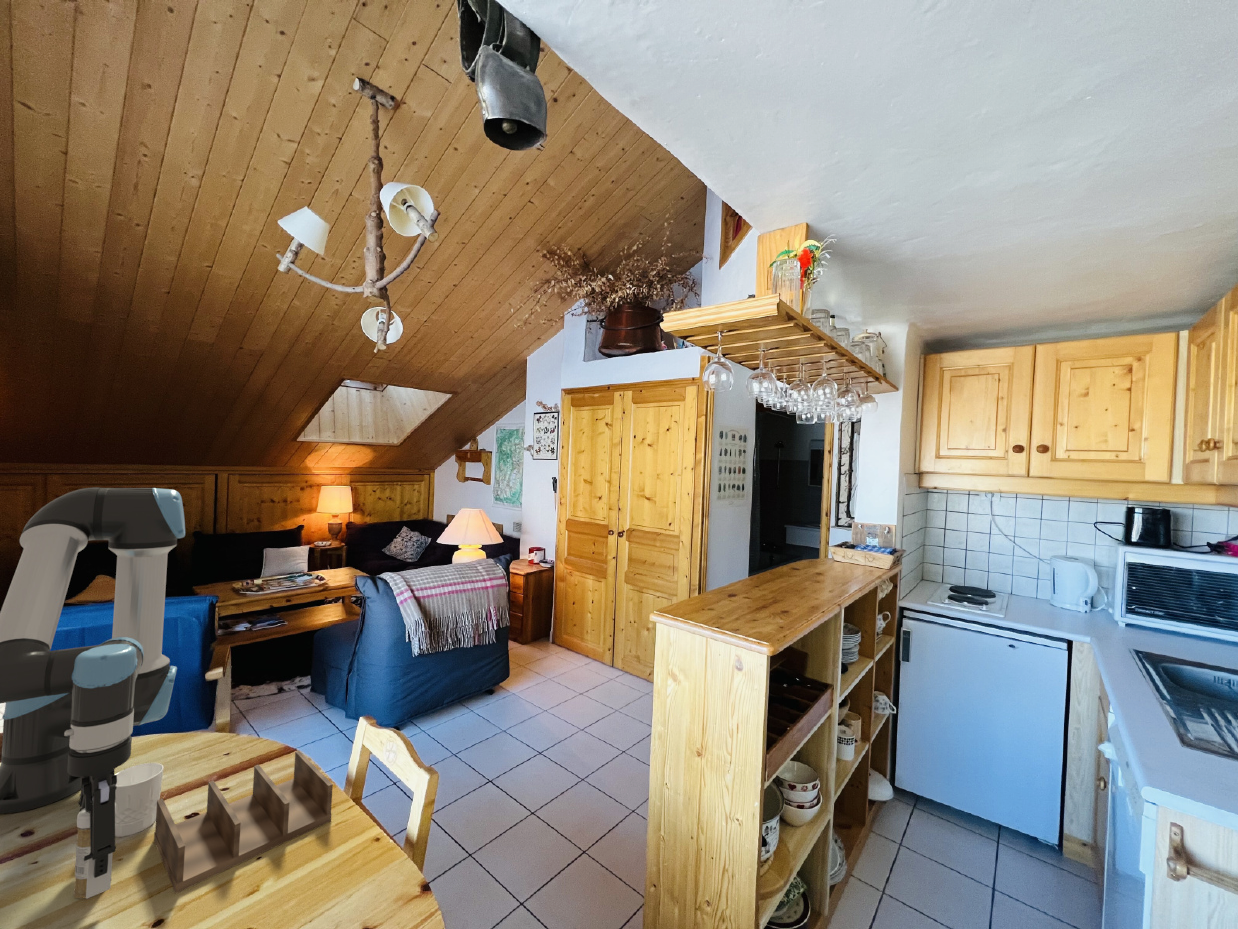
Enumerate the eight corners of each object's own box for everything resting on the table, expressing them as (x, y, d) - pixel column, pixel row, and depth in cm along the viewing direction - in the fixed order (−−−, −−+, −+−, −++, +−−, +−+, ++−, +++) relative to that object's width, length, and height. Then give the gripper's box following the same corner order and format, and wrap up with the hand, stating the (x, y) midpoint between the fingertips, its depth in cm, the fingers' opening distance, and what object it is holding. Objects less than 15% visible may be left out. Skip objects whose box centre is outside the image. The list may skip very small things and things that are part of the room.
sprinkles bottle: (114, 887, 86) (118, 807, 86) (74, 905, 83) (80, 821, 83) (108, 873, 89) (112, 795, 89) (69, 890, 85) (75, 809, 86)
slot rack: (154, 840, 97) (156, 800, 97) (297, 783, 116) (299, 750, 116) (175, 893, 86) (178, 848, 86) (331, 821, 105) (333, 784, 105)
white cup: (126, 843, 96) (129, 789, 96) (94, 835, 98) (97, 782, 98) (170, 816, 104) (173, 766, 104) (140, 808, 105) (143, 760, 106)
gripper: (62, 724, 91) (54, 847, 91) (76, 782, 76) (67, 930, 75) (120, 710, 97) (113, 825, 96) (144, 761, 81) (136, 898, 81)
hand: (93, 871), depth 86 cm, fingers open, 12 cm apart
